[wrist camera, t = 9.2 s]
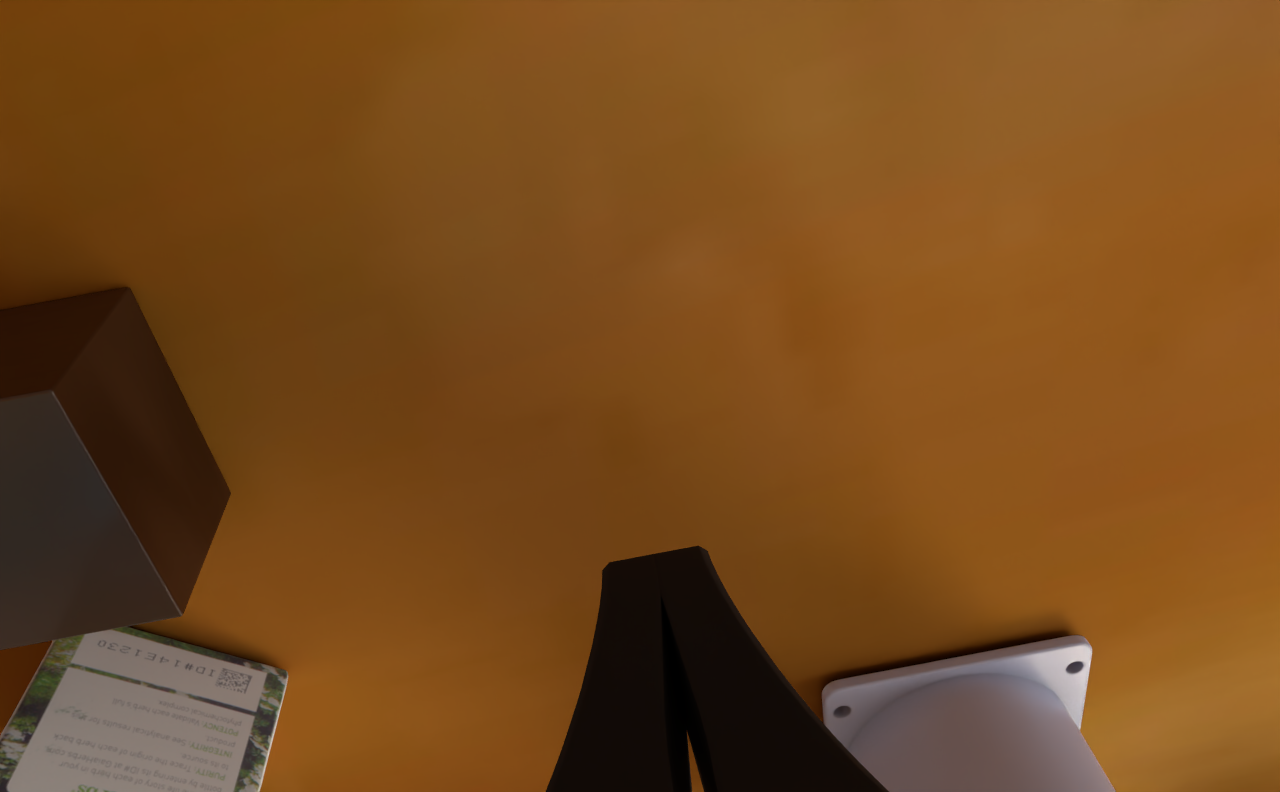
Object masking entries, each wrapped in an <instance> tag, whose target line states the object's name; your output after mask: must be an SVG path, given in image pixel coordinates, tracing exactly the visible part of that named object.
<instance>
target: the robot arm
mask: <svg viewBox="0 0 1280 792" xmlns="http://www.w3.org/2000/svg"><path fill="white" fill-rule="evenodd" d="M1091 657H1092V647H1091V646H1090V644H1089V643H1088V641H1087V640H1086V639H1085V638H1084V637H1083V636H1080V635H1070V636H1065V637H1060V638H1055V639H1049V640H1044V641H1039V642H1034V643H1028V644H1023V645H1018V646H1013V647H1007V648H1002V649H997V650H991V651H986V652H981V653H976V654H970V655H965V656H960V657H955V658H949V659H944V660H939V661H934V662H928V663H923V664H918V665H913V666H907V667H902V668H897V669H892V670H886V671H881V672H876V673H870V674H865V675H860V676H855V677H849V678H844V679H839V680H835V681H832V682H830V683H829V684H827V685H826V686H825V688H824V689H823V691H822V706H823V720H824V724H823V722H822V721H821V720H820V719H819V718H818V717H817V716H816V714H815V713H814V712H813V711H812V710H811V709H810V707H809V706H808V705H807V704H806V702H805V701H804V700H803V699H802V698H801V696H800V695H799V694H798V693H797V692H796V690H795V689H794V688H793V687H792V685H791V684H790V683H789V682H788V680H787V679H786V678H785V676H784V675H783V674H782V673H781V671H780V670H779V669H778V667H777V666H776V665H775V663H774V662H773V661H772V659H771V658H770V656H769V655H768V654H767V652H766V651H765V649H764V648H763V647H762V645H761V644H760V642H759V641H758V640H757V638H756V637H755V635H754V634H753V633H752V631H751V630H750V628H749V627H748V625H747V624H746V622H745V621H744V619H743V618H742V616H741V614H740V613H739V611H738V609H737V608H736V606H735V605H734V603H733V601H732V600H731V598H730V596H729V595H728V593H727V591H726V589H725V588H724V586H723V584H722V582H721V580H720V578H719V576H718V574H717V572H716V570H715V568H714V566H713V564H712V561H711V559H710V556H709V554H708V551H707V550H705V549H703V548H702V547H700V546H694V547H689V548H683V549H678V550H673V551H667V552H662V553H657V554H652V555H646V556H641V557H636V558H630V559H625V560H620V561H614V562H609V563H608V565H607V566H606V567H605V568H604V569H603V570H602V590H601V600H600V607H599V613H598V619H597V624H596V629H595V634H594V639H593V644H592V648H591V652H590V656H589V660H588V664H587V668H586V672H585V676H584V680H583V684H582V688H581V691H580V695H579V698H578V701H577V705H576V708H575V711H574V714H573V717H572V720H571V723H570V726H569V729H568V732H567V735H566V738H565V741H564V744H563V747H562V750H561V753H560V756H559V758H558V761H557V764H556V766H555V769H554V772H553V774H552V777H551V780H550V782H549V785H548V787H547V790H546V792H692V786H691V774H690V762H689V751H688V739H687V732H688V735H689V739H690V743H691V746H692V750H693V753H694V757H695V760H696V764H697V768H698V771H699V775H700V778H701V782H702V785H703V789H704V792H1116V791H1115V789H1114V788H1113V786H1112V784H1111V783H1110V781H1109V779H1108V778H1107V776H1106V774H1105V773H1104V771H1103V769H1102V768H1101V766H1100V764H1099V763H1098V761H1097V759H1096V757H1095V756H1094V754H1093V752H1092V751H1091V749H1090V747H1089V746H1088V744H1087V742H1086V741H1085V739H1084V737H1083V736H1082V734H1081V732H1080V727H1081V721H1082V714H1083V708H1084V701H1085V695H1086V689H1087V682H1088V676H1089V669H1090V663H1091Z"/></svg>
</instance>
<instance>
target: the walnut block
mask: <svg viewBox="0 0 1280 792" xmlns="http://www.w3.org/2000/svg"><path fill="white" fill-rule="evenodd" d="M230 495H231V492H230V490H229V488H228V486H227V484H226V482H225V480H224V478H223V476H222V474H221V472H220V470H219V468H218V466H217V464H216V462H215V460H214V458H213V456H212V454H211V452H210V450H209V448H208V446H207V443H206V441H205V439H204V437H203V435H202V433H201V431H200V429H199V427H198V425H197V423H196V421H195V419H194V417H193V415H192V413H191V411H190V409H189V407H188V405H187V403H186V401H185V399H184V397H183V395H182V393H181V391H180V389H179V387H178V385H177V383H176V381H175V379H174V376H173V374H172V372H171V370H170V368H169V366H168V364H167V362H166V360H165V358H164V356H163V354H162V352H161V350H160V348H159V346H158V344H157V342H156V340H155V338H154V336H153V334H152V332H151V330H150V328H149V326H148V324H147V322H146V320H145V318H144V316H143V314H142V312H141V310H140V307H139V305H138V303H137V301H136V299H135V297H134V295H133V293H132V291H131V289H130V288H128V287H127V288H121V289H116V290H110V291H105V292H99V293H94V294H89V295H83V296H78V297H72V298H67V299H61V300H56V301H51V302H45V303H40V304H34V305H29V306H23V307H18V308H12V309H7V310H2V311H0V650H4V649H9V648H15V647H20V646H25V645H31V644H36V643H41V642H47V641H52V640H57V639H63V638H68V637H73V636H79V635H84V634H89V633H95V632H100V631H105V630H111V629H116V628H121V627H127V626H132V625H137V624H143V623H148V622H153V621H159V620H164V619H170V618H175V617H180V616H182V615H183V613H184V611H185V608H186V606H187V603H188V601H189V598H190V596H191V593H192V591H193V588H194V585H195V583H196V580H197V578H198V575H199V573H200V570H201V568H202V565H203V563H204V560H205V558H206V555H207V553H208V550H209V548H210V545H211V543H212V540H213V538H214V535H215V533H216V530H217V527H218V525H219V522H220V520H221V517H222V515H223V512H224V510H225V507H226V505H227V502H228V500H229V497H230Z"/></svg>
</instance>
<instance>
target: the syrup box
mask: <svg viewBox="0 0 1280 792" xmlns="http://www.w3.org/2000/svg"><path fill="white" fill-rule="evenodd" d="M287 680H288V672H287V671H286V670H283V669H279V668H276V667H272V666H269V665H265V664H261V663H258V662H254V661H250V660H247V659H243V658H239V657H235V656H232V655H228V654H225V653H221V652H217V651H213V650H210V649H206V648H203V647H199V646H195V645H191V644H188V643H184V642H180V641H177V640H174V639H171V638H167V637H163V636H159V635H155V634H151V633H148V632H144V631H140V630H137V629H133V628H130V627H121V628H116V629H111V630H105V631H100V632H95V633H89V634H84V635H79V636H73V637H68V638H63V639H57V640H53V641H52V643H51V645H50V647H49V649H48V651H47V652H46V654H45V656H44V658H43V660H42V662H41V663H40V665H39V667H38V669H37V671H36V672H35V674H34V676H33V678H32V680H31V681H30V683H29V685H28V687H27V688H26V690H25V692H24V694H23V696H22V698H21V699H20V701H19V703H18V705H17V707H16V709H15V710H14V712H13V714H12V716H11V718H10V719H9V721H8V723H7V725H6V726H5V728H4V730H3V731H2V733H1V735H0V792H260V788H261V784H262V781H263V777H264V772H265V768H266V764H267V760H268V756H269V752H270V748H271V744H272V741H273V737H274V733H275V729H276V725H277V721H278V717H279V713H280V709H281V705H282V701H283V698H284V694H285V690H286V686H287Z"/></svg>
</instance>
